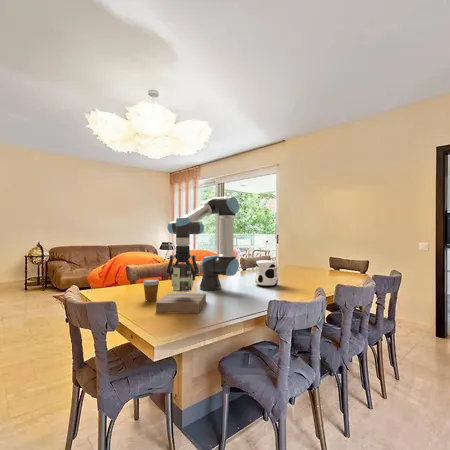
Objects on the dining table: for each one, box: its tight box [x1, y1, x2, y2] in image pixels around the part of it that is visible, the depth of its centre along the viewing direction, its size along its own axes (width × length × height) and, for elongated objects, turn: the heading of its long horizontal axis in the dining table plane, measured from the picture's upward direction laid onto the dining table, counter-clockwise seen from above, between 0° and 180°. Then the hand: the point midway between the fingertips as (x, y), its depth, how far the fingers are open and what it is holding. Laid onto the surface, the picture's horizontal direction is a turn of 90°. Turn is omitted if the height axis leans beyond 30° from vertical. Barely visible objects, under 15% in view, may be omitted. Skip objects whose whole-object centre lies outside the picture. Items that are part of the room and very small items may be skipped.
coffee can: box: [172, 263, 193, 293], centre depth 152 cm, size 10×10×14 cm
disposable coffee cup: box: [142, 278, 160, 302], centre depth 166 cm, size 10×10×12 cm
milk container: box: [254, 259, 279, 288], centre depth 209 cm, size 17×17×18 cm
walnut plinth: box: [155, 292, 207, 314], centre depth 152 cm, size 22×22×5 cm
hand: (182, 286), depth 153 cm, fingers closed on coffee can, 10 cm apart
